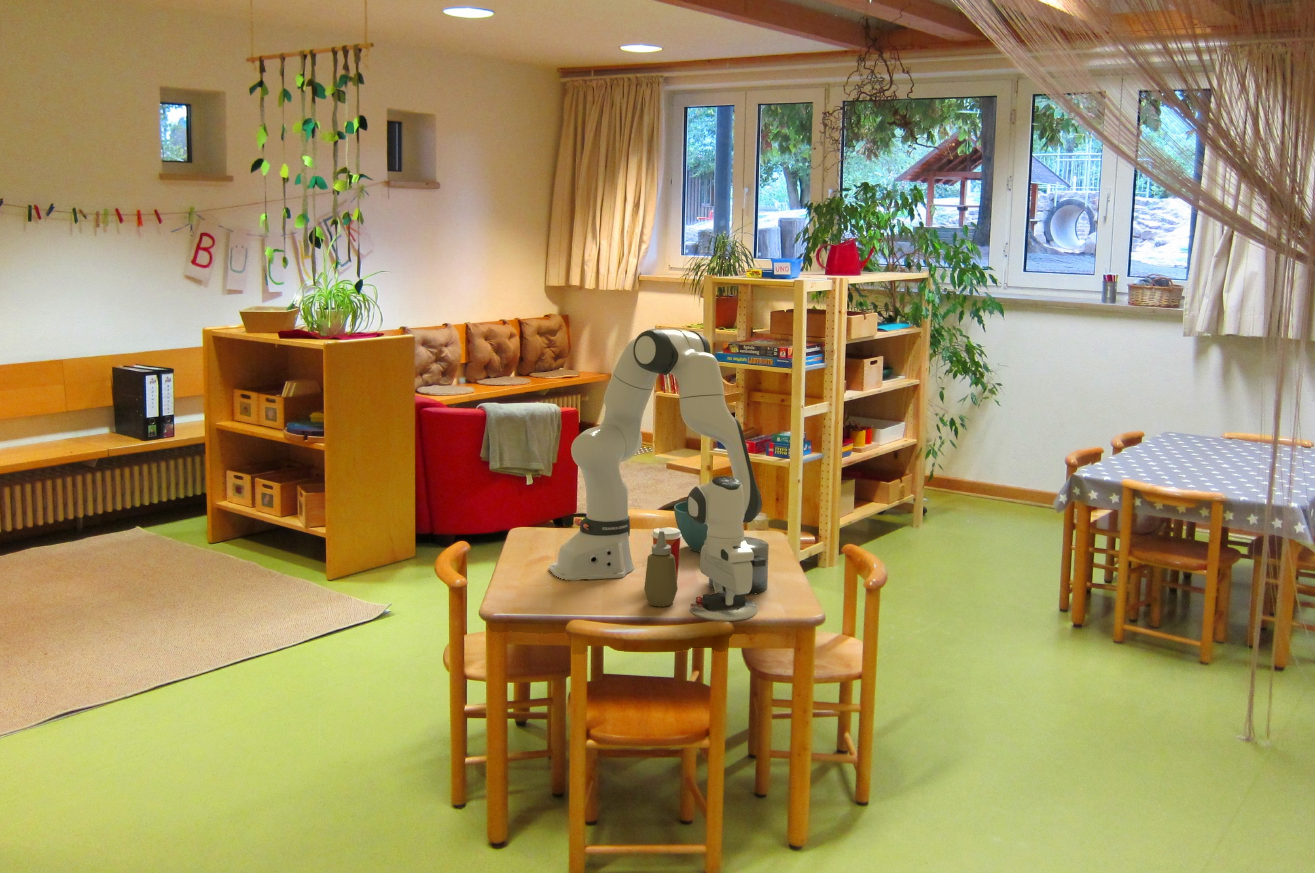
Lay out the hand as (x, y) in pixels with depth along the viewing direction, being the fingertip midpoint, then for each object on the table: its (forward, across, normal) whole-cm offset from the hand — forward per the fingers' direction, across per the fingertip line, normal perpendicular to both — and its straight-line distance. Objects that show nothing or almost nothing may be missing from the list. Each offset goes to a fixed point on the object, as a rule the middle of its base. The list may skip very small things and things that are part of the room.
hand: (723, 601), depth 277 cm
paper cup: (+2, -24, -4) cm, 24 cm away
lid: (+2, 0, 0) cm, 2 cm away
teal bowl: (+2, -49, +20) cm, 53 cm away
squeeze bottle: (+2, -10, -12) cm, 16 cm away
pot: (+2, -15, +12) cm, 19 cm away
